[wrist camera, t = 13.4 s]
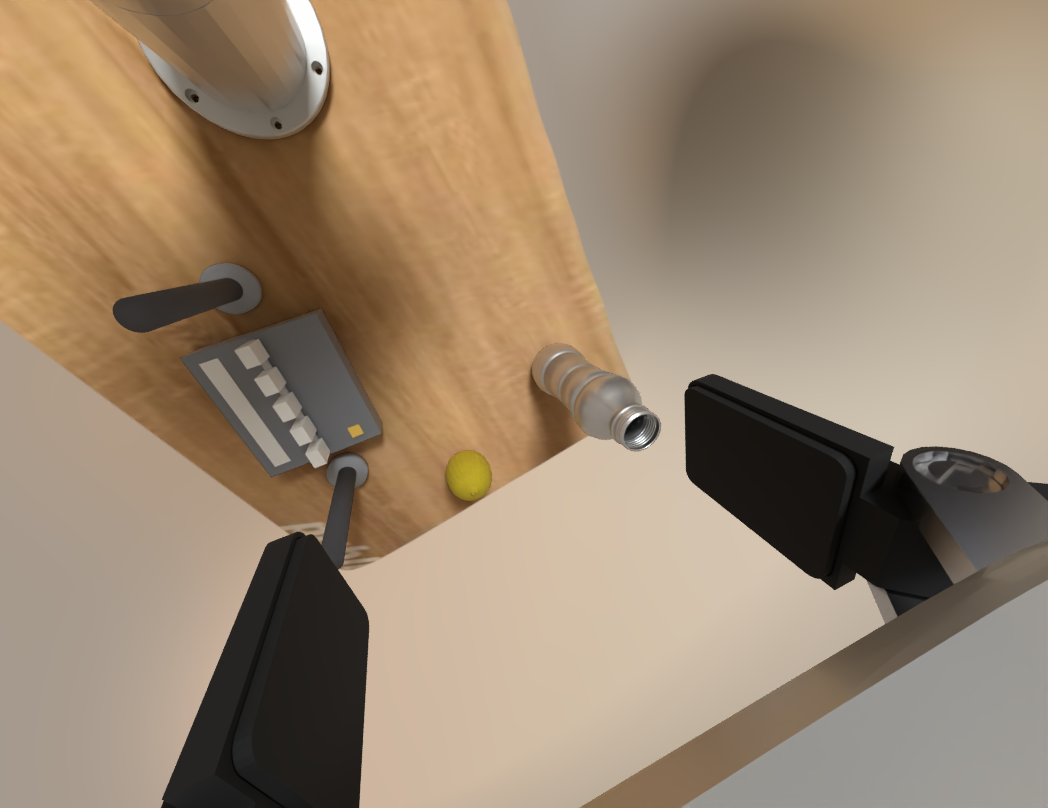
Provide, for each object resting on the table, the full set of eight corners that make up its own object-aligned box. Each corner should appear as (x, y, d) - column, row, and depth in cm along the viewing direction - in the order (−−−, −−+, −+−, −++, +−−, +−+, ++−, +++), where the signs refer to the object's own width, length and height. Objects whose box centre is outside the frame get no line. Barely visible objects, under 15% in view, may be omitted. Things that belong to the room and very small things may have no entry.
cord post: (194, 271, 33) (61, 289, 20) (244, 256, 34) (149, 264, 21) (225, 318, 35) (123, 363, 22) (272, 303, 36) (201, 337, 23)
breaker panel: (195, 349, 35) (178, 358, 32) (321, 308, 37) (315, 313, 34) (278, 462, 42) (270, 478, 39) (382, 422, 44) (381, 434, 41)
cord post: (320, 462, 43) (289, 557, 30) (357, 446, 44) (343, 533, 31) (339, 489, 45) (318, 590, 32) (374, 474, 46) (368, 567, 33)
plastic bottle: (577, 379, 50) (677, 451, 32) (531, 393, 49) (609, 477, 31) (571, 333, 47) (677, 385, 30) (522, 347, 46) (602, 410, 28)
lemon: (452, 482, 50) (462, 521, 43) (435, 450, 47) (442, 486, 40) (489, 464, 51) (505, 499, 44) (474, 432, 48) (488, 464, 41)
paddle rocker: (244, 341, 34) (233, 349, 31) (258, 337, 34) (248, 344, 31) (319, 455, 40) (315, 469, 37) (331, 451, 40) (327, 464, 37)
